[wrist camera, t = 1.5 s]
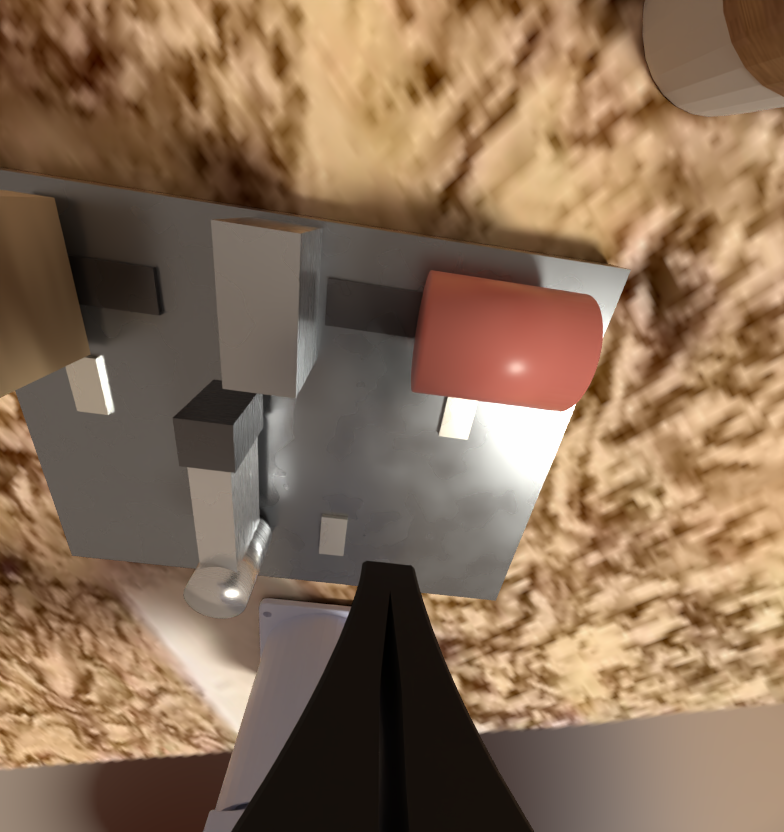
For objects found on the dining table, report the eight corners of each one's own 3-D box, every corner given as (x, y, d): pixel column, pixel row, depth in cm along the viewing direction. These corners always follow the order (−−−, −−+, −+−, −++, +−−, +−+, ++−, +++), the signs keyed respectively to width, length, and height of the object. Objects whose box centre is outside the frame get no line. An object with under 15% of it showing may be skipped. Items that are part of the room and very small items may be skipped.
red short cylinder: (531, 383, 14) (569, 433, 11) (409, 367, 14) (413, 412, 11) (565, 284, 13) (621, 309, 10) (427, 262, 13) (438, 281, 9)
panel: (489, 577, 22) (510, 661, 18) (88, 533, 21) (13, 613, 17) (609, 263, 14) (695, 286, 10) (-25, 163, 13) (-220, 142, 9)
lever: (272, 553, 19) (247, 621, 16) (221, 547, 19) (186, 615, 16) (271, 385, 15) (238, 433, 12) (206, 377, 14) (155, 423, 11)
